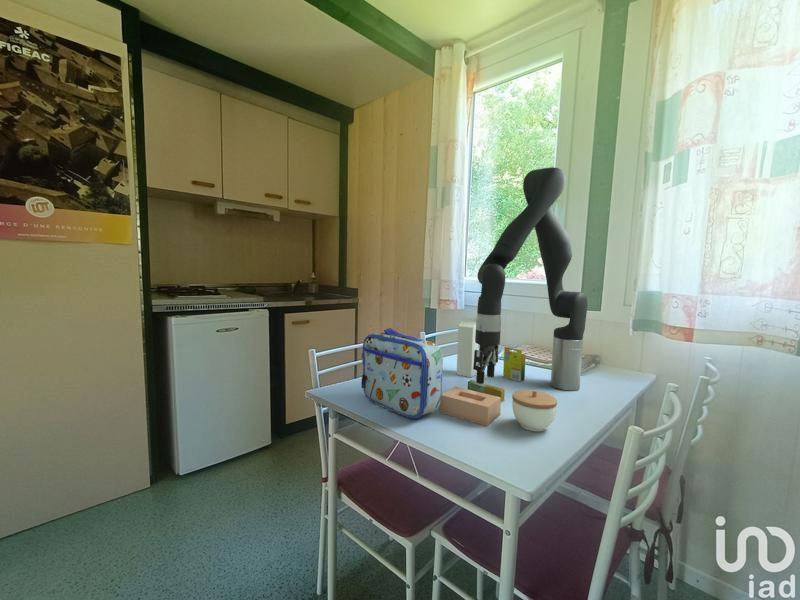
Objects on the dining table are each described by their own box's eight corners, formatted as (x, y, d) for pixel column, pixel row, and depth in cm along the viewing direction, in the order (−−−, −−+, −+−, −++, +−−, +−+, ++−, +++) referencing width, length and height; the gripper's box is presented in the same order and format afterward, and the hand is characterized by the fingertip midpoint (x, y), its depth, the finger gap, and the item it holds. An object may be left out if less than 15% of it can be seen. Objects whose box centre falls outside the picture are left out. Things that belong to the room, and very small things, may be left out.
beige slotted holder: (454, 402, 105) (455, 386, 105) (500, 414, 97) (501, 397, 96) (439, 412, 98) (440, 394, 97) (487, 426, 90) (488, 407, 89)
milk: (463, 371, 139) (465, 316, 137) (477, 374, 135) (479, 317, 134) (456, 374, 134) (458, 317, 132) (471, 377, 130) (473, 319, 129)
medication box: (466, 393, 114) (467, 381, 114) (471, 391, 116) (471, 379, 116) (500, 403, 106) (501, 390, 106) (505, 401, 108) (505, 388, 108)
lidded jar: (503, 425, 90) (504, 390, 90) (522, 414, 98) (524, 381, 97) (544, 440, 83) (546, 401, 82) (562, 426, 90) (564, 391, 89)
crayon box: (524, 380, 128) (526, 349, 127) (520, 382, 126) (522, 350, 125) (507, 375, 134) (508, 345, 133) (502, 377, 132) (504, 346, 131)
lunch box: (353, 398, 107) (354, 327, 106) (379, 390, 115) (380, 323, 113) (420, 428, 88) (422, 341, 86) (445, 416, 95) (448, 336, 93)
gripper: (485, 325, 116) (482, 373, 117) (467, 329, 105) (464, 382, 106) (507, 327, 112) (504, 377, 113) (491, 332, 100) (488, 388, 101)
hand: (485, 380), depth 109 cm, fingers open, 8 cm apart
